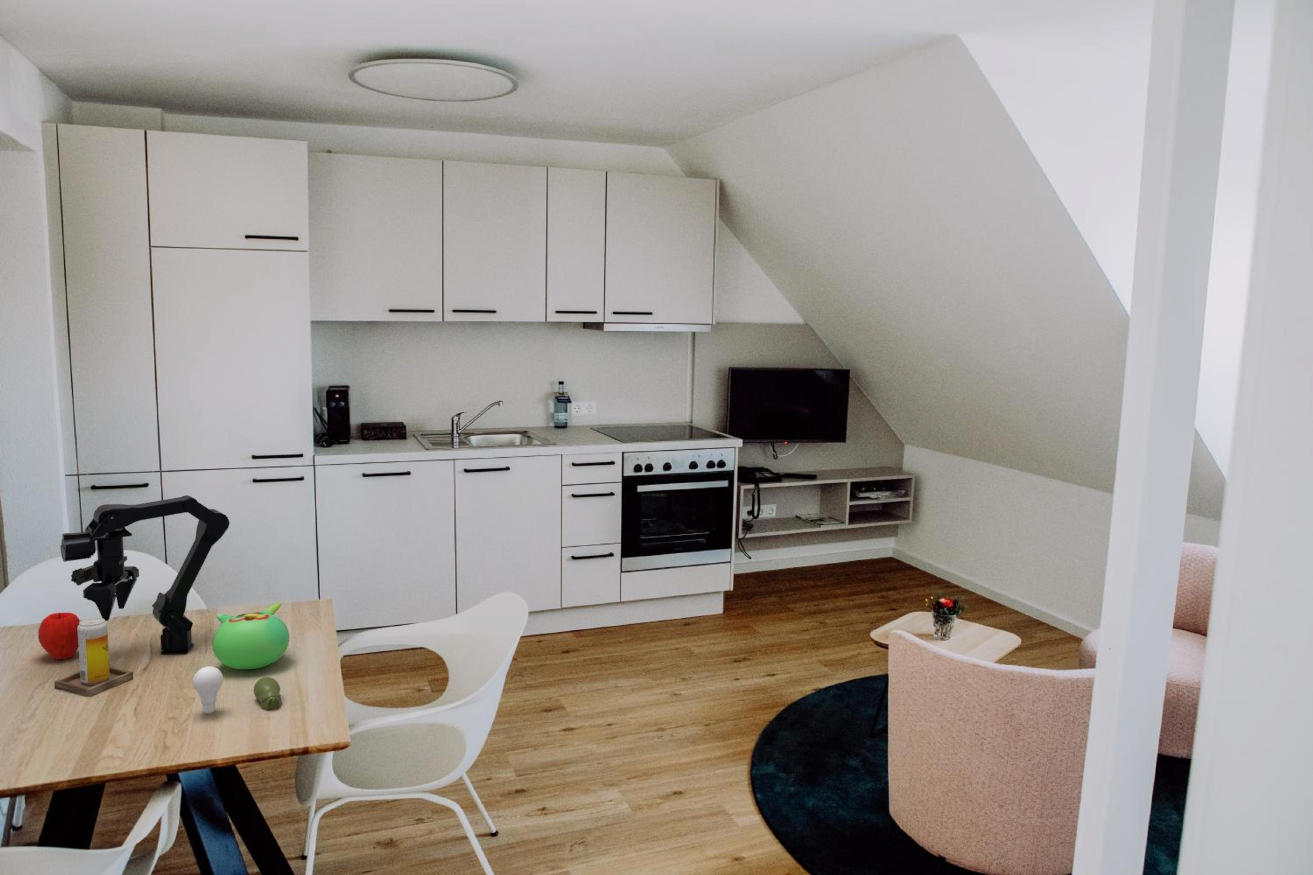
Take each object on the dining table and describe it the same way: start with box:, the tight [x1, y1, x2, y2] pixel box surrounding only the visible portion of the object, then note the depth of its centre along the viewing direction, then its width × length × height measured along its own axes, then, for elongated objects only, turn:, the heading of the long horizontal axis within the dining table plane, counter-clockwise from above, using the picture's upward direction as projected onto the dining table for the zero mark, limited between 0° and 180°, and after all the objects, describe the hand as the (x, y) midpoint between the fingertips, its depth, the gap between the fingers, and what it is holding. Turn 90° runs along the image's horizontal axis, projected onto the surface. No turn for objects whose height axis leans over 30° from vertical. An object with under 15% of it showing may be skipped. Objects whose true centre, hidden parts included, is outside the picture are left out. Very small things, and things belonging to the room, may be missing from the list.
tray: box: [53, 666, 134, 698], centre depth 223 cm, size 12×12×2 cm
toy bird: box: [212, 602, 290, 670], centre depth 236 cm, size 18×17×15 cm
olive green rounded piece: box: [253, 676, 282, 711], centre depth 216 cm, size 6×5×10 cm
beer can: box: [77, 617, 110, 685], centre depth 222 cm, size 6×6×15 cm
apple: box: [37, 612, 81, 660], centre depth 237 cm, size 10×10×12 cm
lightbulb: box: [192, 666, 224, 715], centre depth 209 cm, size 6×6×11 cm
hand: (113, 614), depth 234 cm, fingers open, 9 cm apart
